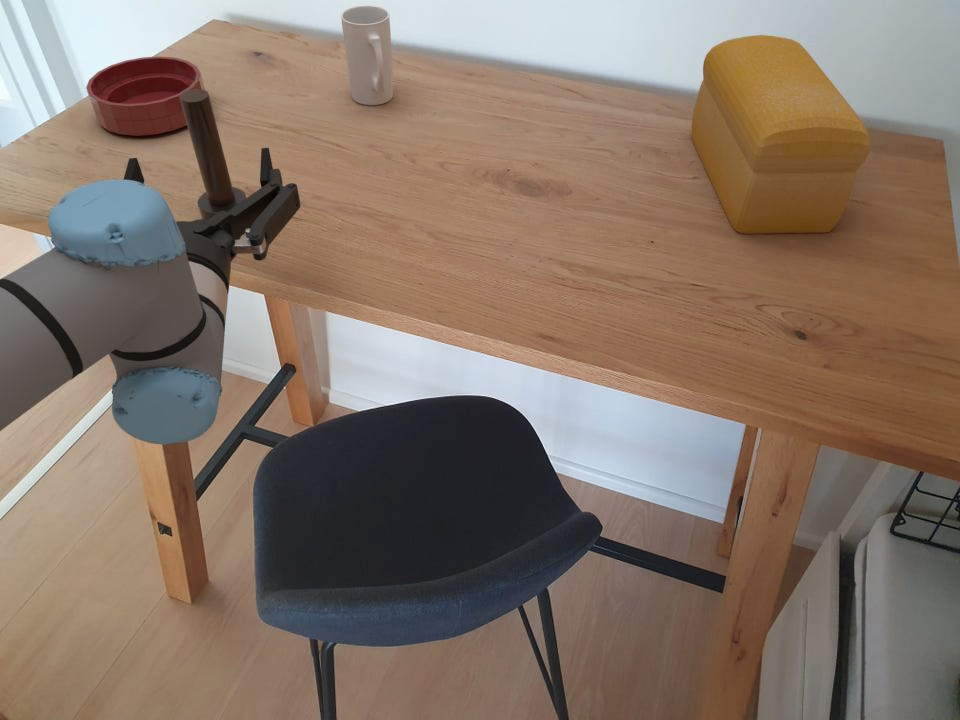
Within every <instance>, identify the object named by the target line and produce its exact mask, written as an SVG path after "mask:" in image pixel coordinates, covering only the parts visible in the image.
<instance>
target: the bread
mask: <svg viewBox="0 0 960 720" xmlns="http://www.w3.org/2000/svg"><path fill="white" fill-rule="evenodd" d="M702 76H703V77H702V78H703V80H702V81H701V83H700V87H699V90H698V93H697V97H696V101H695V104H694V108H693V114H692V119H691V141H692V143H693V146H694V148H695V150H696V153H697V155H698V157H699V159H700V161H701V163H702V165H703V168H704V170H705V173H706V174H707V176H708V180H709V181H710V183H711V186H712V188H713V190H714V192H715V194H716V196H717V199H718V200H719V203H720V205H721V207H722V210H723V212H724V214H725V216H726V218H727V220H728V222H729V224H730V225H731V227H732V228H733V229H734V231H735V232H737V233H739V234H745V235H752V234H753V235H756V234H759V235H760V234H812V233H813V234H817V233H819V234H820V233H821V234H822V233H823V234H824V233H829V232H831V231H832V230H833V229H834V228H835V226H836V225H837V224H838V222H839V221H840V219H841V218H842V216H843V214H844V212H845V210H846V208H847V204H848V202H849V199H850V197H851V193H852V191H853V189H854V185H855V182H856V178H857V172H858V170H859V169H860V168H861V167H862V166H863V164H864V163H866V160H867V158H868V156H869V154H870V151H871V139H870V135H869V132H868V129H867V128H866V126H865V125H864V123H863V122H862V121H863V120H861V118H860V116H859V115H858V113H856V111H855V109H853V107H852V106H851V105H850V104H849V103H848V101H847V100H846V98H845V97H844V96H843V95H842V94H841V92H840V91H839V90H838V88H837V87H836V86H835V84H834V83H833V82H832V81H831V79H830V78H829V77H828V75H826V73H825V72H824V71H823V70H822V68H821V67H820V66H819V65H818V63H817V62H816V61H815V60H814V58H813V57H812V56H811V54H810V53H809V52H808V51H807V49H805V47H804V46H803V45H802V44H801V43H800V42H798V41H796V40H794V39H792V38H787V37H781V36H774V35H768V34H767V35H766V34H759V35H757V34H755V35H748V36H747V35H746V36H741V37H735V38H731V39H728V40H725V41H722V42H720V43H718V44H716V45H714V46H713V47H711V48H710V50H709V51H708V52H707V53H706V54H705V56H704V59H703V64H702Z"/></svg>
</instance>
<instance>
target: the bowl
mask: <svg viewBox="0 0 960 720" xmlns="http://www.w3.org/2000/svg"><path fill="white" fill-rule="evenodd" d="M85 89H86V92H87V95H88V97H89V100H90V103H91V105H92V108H93V111H94V113H95V116H96V119H97V122H98V124H99V125H100V126H101V127H102V128H104V129H105V130H106V131H108V132H112V133H115V134H119V135H125V136H136V137H137V136H153V135H154V136H155V135H158V134H159V135H160V134H164V133H168V132H172V131H175V130H178V129H181V128H184V127H187V123H186V119H185V116H184V112H183V109H182V105H181V102H180V98H179V97H180V95H181V94H182V93H183V92H185V91H188V90H192V89H202V90H205V91H206V88H205V85H204V80H203V77H202V72H201V71H200V69H199V68H198V66H197V65H196V64H194V63H193V62H190V61H189V60H187V59H183V58H178V57H171V56H160V55H159V56H145V57H144V56H143V57H137V58H132V59H127V60H123V61H120V62H117V63H114V64H111V65H108V66H107V67H105V68H102V69H101V70H99V71H97V72H96V73H95V74H94V75H93V76H92V77H90V78H89V80H88V82H87V84H86V87H85Z"/></svg>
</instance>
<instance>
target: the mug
mask: <svg viewBox="0 0 960 720" xmlns="http://www.w3.org/2000/svg"><path fill="white" fill-rule="evenodd" d="M340 14H341V15H340V19H341V28H342V35H343V42H344V49H345V56H346V63H347V65H346V66H347V72H348V79H349V87H350V94H351V97H352V99H353V101H354V102H355V103H357V104H359V105H364V106H379V105H384V104H387V103H388V102H390V101H391V100H392V99H393V97H394V76H393V75H394V74H393V57H392V56H393V53H392V35H391V33H392V32H391V20H390V12H389V11H388V10H387V9H385V8H383V7H381V6H377V5H375V6H374V5H357V6H353V7H349V8H346V9H345V10H344V11H342V13H340Z"/></svg>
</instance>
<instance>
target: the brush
mask: <svg viewBox="0 0 960 720" xmlns="http://www.w3.org/2000/svg"><path fill="white" fill-rule="evenodd" d="M179 98H180V102H181V105H182V109H183V112H184V116H185V119H186V123H187V125H186V127H187V129H188V134H189V136H190V140H191V144H192V147H193V151H194V155H195V158H196V161H197V165H198V168H199V173H200V175H201V179H202V182H203V187H204V190H205V192H204V193H202V194H201V195H200V196H199V198H198V199H197V207H198V210H199V214H200V216H201V219H207V220H208V219H210V218H211V217H213V216H214V215H215V214H217V213H218V212H220V211H225V212H227V211H229V210H230V209H232V208H233V207H234V206H236V205H237V204H239V203H240V202H242V201H243V200H245V199H246V198H247V194H246V192H245V191H243V189H240V188H238V187H234V186H233V184H232V182H231V181H232V179H231V176H230V171H229V168H228V164H227V160H226V157H225V152H224V149H223V145H222V142H221V138H220V137H221V136H220V132H219V130H218V126H217V121H216V118H215V113H214V109H213V106H212V102H211V98H210V94H209V92H208V91H207V90H206V89H205V90H202V89H192V90H188V91H185V92H183V93H182V94H181V95H180V97H179ZM221 228H222V226H221ZM222 229H223V228H222Z"/></svg>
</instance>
